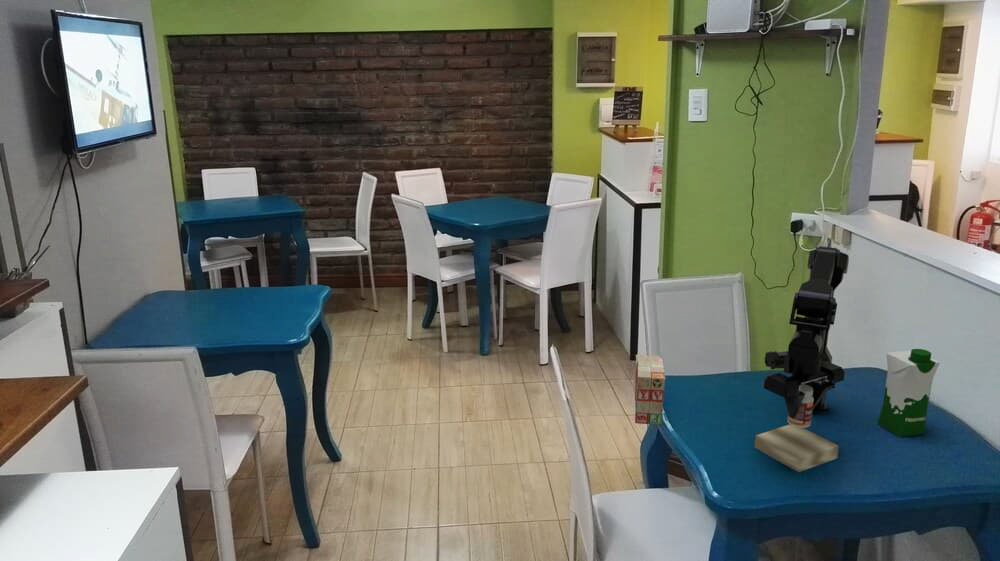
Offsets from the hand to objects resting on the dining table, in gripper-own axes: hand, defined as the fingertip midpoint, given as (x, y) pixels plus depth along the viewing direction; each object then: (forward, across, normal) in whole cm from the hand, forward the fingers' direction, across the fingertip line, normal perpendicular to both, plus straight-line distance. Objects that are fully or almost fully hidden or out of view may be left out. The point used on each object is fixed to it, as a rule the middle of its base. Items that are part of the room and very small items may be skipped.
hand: (799, 414), depth 162 cm
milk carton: (+10, -31, +4) cm, 33 cm away
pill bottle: (+2, 0, 0) cm, 2 cm away
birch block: (+9, 0, 0) cm, 9 cm away
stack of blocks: (+10, +13, -34) cm, 38 cm away
